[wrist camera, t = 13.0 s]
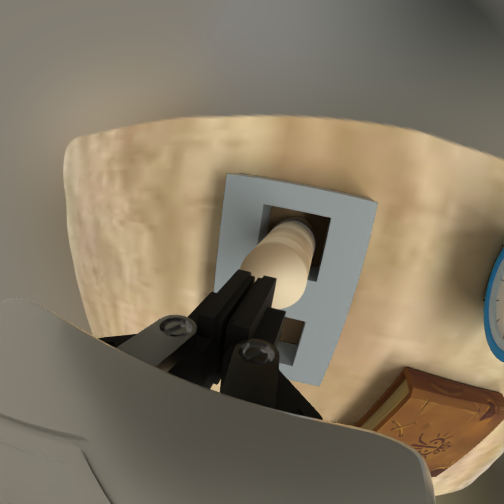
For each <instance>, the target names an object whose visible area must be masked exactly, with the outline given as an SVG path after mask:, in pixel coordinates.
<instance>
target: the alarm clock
mask: <svg viewBox="0 0 504 504" xmlns="http://www.w3.org/2000/svg"><path fill="white" fill-rule="evenodd" d="M502 248H503V250H502V251H501V253H500V254H499V256H498V258H497V260H496V262H495V265H494V267H493V269H492V272H491V275H490V278H489V282H488V286H487V290H486V296H485V299H484V300H483V301H485V303H484V329H485V335H486V339H487V342H488V345H489V347H490V349H491V351H492V353H493V354H494V355H495V356H496V357H497V358H498V359H499V360H500V361H502V362H504V245H502Z"/></svg>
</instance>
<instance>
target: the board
mask: <svg viewBox="0 0 504 504" xmlns="http://www.w3.org/2000/svg"><path fill="white" fill-rule="evenodd" d="M377 205H378V203H377V202H375V201H374V200H372V199H370V198H366V197H362V196H358V195H353V194H349V193H345V192H340V191H336V190H331V189H327V188H322V187H317V186H312V185H307V184H302V183H296V182H291V181H286V180H280V179H274V178H268V177H262V176H256V175H249V174H242V173H233V174H227V177H226V185H225V193H224V201H223V209H222V217H221V226H220V235H219V244H218V253H217V263H216V273H215V283H214V292H215V293H217V292H218V291H219V290H220V289H221V288H222V287H223V285H224V284H225V283H226V282H227V281H228V280H229V279H230V278H231V277H232V276H233V274H234V273H235V272H236V271H237V270H238V269H240V267H241V264H242V262H243V260H244V259H245V257H246V256H247V255H248V254H249V253H250V252H251V251H252V250H253V249H254V248H255V247H256V246H257V245H258V244H259V243H260V242H261V241H262V240H263V239H264V238H265V237H266V236H267V233H268V227H269V220H270V214H271V208H272V206H276V207H281V208H287V209H292V210H296V211H301V212H306V213H311V214H316V215H320V216H325V217H329V223H328V228H327V232H326V237H325V241H324V246H323V250H322V255H321V259H320V263H319V267H316V266H310V270H309V275H308V279H307V283H306V288H305V291H304V293H303V295H302V296H301V298H300V299H299V300H298V301H297V302H296V303H294V304H293V305H291V306H289V307H286V308H283V309H279V310H283V311H286V315H285V317H288V318H292V319H296V320H301V321H304V325H303V329H302V332H301V335H300V339H299V342H298V345H295V344H291V343H287V342H283V341H279V342H278V345H277V350H278V351H279V355H280V360H279V370H280V371H281V372H282V373H283V374H284V376H285V377H286V378H287V379H288V380H293V381H297V382H301V383H306V384H310V385H315V386H320V384H321V382H322V379H323V377H324V375H325V372H326V370H327V368H328V365H329V363H330V360H331V358H332V355H333V353H334V350H335V347H336V345H337V342H338V340H339V337H340V334H341V331H342V329H343V326H344V323H345V320H346V317H347V314H348V311H349V308H350V305H351V302H352V299H353V296H354V293H355V290H356V287H357V283H358V280H359V277H360V273H361V270H362V266H363V263H364V259H365V255H366V251H367V248H368V244H369V240H370V236H371V232H372V227H373V223H374V219H375V214H376V210H377Z"/></svg>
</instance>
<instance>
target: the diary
mask: <svg viewBox="0 0 504 504" xmlns="http://www.w3.org/2000/svg"><path fill="white" fill-rule="evenodd" d="M503 420H504V397H503V395H502V394H501V393H497V392H493V391H489V390H485V389H481V388H477V387H473V386H469V385H465V384H462V383H458V382H454V381H451V380H447V379H444V378H440V377H437V376H434V375H430V374H427V373H424V372H420V371H417V370H414V369H411V368H405V369H404V370H403V371H402V373H401V374H400V375H399V376H398V378H397V379H396V380H395V381H394V383H393V384H392V385H391V386H390V387H389V389H388V390H387V391H386V392H385V393H384V394H383V396H382V397H381V398H380V399H379V400H378V401H377V402H376V403H375V404H374V406H373V407H372V408H371V409H370V410H369V411H368V412H367V413H366V414H365V415H364V416H363V417H362V418H361V419H360V420H359V421H358V422H357V423H356V424H355V425H354V426H355V427H359V428H363V429H368V430H372V431H375V432H378V433H381V434H385V435H388V436H390V437H392V438H395V439H397V440H399V441H402V442H404V443H406V444H407V445H409V446H411V447H412V448H414V449H415V450H417V451H418V452H419V453H420V454H421V455H422V457H423V458H424V460H425V461H426V463H427V465H428V468H429V471H430V474H431V477H436V476H438V475H439V474H440V473H442V472H443V471H445V470H446V469H448V468H449V467H450V466H452V465H453V464H454V463H456V462H457V461H458V460H459V459H461V458H462V457H463V456H464V455H466V454H467V453H468V452H469V451H471V450H472V449H473V448H474V447H475V446H476V445H478V444H479V443H480V442H481V441H482V440H483V439H484V438H485V437H486V436H487V435H489V434H490V433H491V432H492V431H493V430H494V429H495V428H496V427H497V426H498V425H499V424H500V423H501V422H502V421H503Z"/></svg>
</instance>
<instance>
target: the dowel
mask: <svg viewBox="0 0 504 504" xmlns="http://www.w3.org/2000/svg"><path fill="white" fill-rule="evenodd" d="M315 242H316V235H315V231H314V229H313V227H312V226H311V224H310V223H309V222H308V221H306V220H305V219H302V218H299V217H289V218H286V219H284V220H282V221H281V222H280V223H278V224H277V225H276V226H275V227H274V228H273V229H272V230H271V231H270V233H269V234H268V235H267V236H266V237H265V238H264V239H263V240H262V241H261V242H260V243H259V244H258V245H257V246H256V247H255V248H254V249H253V250H252V251H251V252H250V253H249V254H248V255H247V256H246V257H245V259H244V260H243V262H242V264H241V267H240V270H244V271H248V272H251V276H255V281H256V280H257V278H258V277H259V278H262V277H263V276H264V275H265V276H269V277H273V278H277V281H276V286H275V292H274V297H273V302H272V307H271V308H275V309H283V308H286V307H289V306H291V305H293V304H294V303H296V302H297V301H298V300H299V299H300V298H301V296H302V295H303V293H304V291H305V288H306V283H307V279H308V275H309V270H310V266H311V261H312V256H313V254H314V251H315Z"/></svg>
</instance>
